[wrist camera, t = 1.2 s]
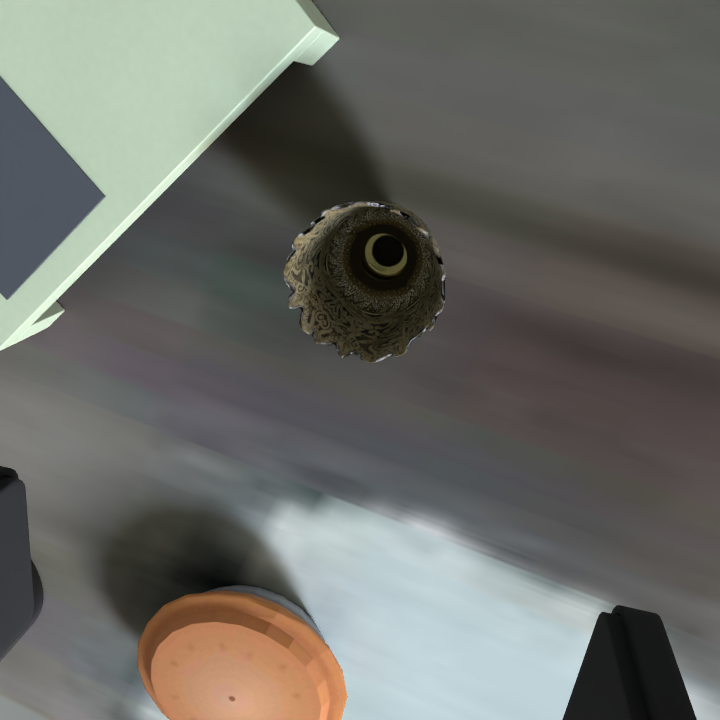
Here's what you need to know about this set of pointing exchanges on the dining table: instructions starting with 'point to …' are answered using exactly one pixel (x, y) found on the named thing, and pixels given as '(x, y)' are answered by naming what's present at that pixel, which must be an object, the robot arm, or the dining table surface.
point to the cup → (365, 280)
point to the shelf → (117, 120)
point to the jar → (37, 606)
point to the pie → (239, 659)
